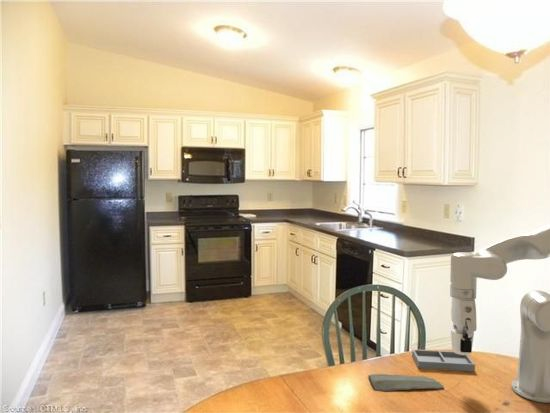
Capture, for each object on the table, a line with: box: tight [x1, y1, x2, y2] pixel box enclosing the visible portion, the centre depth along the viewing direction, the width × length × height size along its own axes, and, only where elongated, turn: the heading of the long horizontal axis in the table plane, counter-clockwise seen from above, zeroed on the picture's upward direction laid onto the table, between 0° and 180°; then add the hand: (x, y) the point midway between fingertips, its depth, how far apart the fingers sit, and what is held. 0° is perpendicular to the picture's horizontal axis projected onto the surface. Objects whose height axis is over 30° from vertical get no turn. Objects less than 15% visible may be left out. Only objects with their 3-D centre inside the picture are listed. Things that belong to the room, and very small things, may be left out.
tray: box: [411, 348, 476, 373], centre depth 147 cm, size 10×19×2 cm, turn 84°
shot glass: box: [450, 326, 475, 356], centre depth 133 cm, size 7×7×7 cm
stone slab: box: [368, 373, 445, 393], centre depth 134 cm, size 22×3×10 cm
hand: (461, 346), depth 133 cm, fingers closed on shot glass, 6 cm apart
